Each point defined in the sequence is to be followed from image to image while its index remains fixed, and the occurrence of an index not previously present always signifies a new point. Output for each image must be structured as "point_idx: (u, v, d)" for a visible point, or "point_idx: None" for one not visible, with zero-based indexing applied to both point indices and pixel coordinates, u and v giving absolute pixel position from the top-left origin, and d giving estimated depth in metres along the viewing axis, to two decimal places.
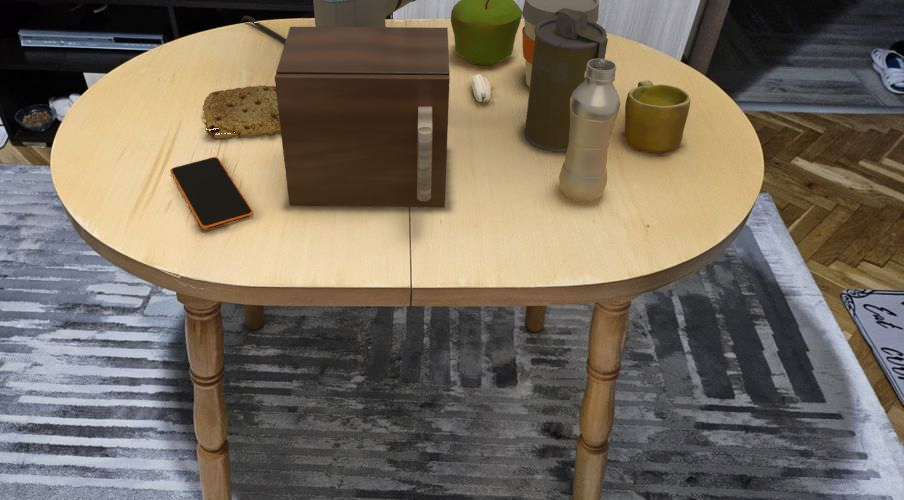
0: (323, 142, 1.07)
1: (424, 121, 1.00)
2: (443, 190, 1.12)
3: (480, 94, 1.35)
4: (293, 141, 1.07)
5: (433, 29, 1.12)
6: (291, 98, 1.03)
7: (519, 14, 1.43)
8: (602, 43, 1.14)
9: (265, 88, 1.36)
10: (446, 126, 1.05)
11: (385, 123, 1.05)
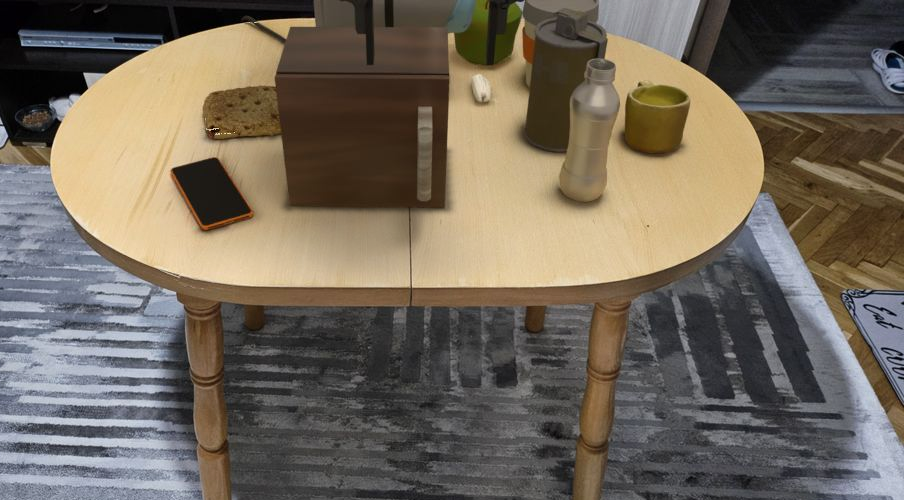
0: (323, 142, 1.07)
1: (424, 121, 1.00)
2: (443, 190, 1.12)
3: (480, 94, 1.35)
4: (293, 141, 1.07)
5: (433, 29, 1.12)
6: (291, 98, 1.03)
7: (519, 14, 1.43)
8: (602, 43, 1.14)
9: (265, 88, 1.36)
10: (446, 126, 1.05)
11: (385, 123, 1.05)
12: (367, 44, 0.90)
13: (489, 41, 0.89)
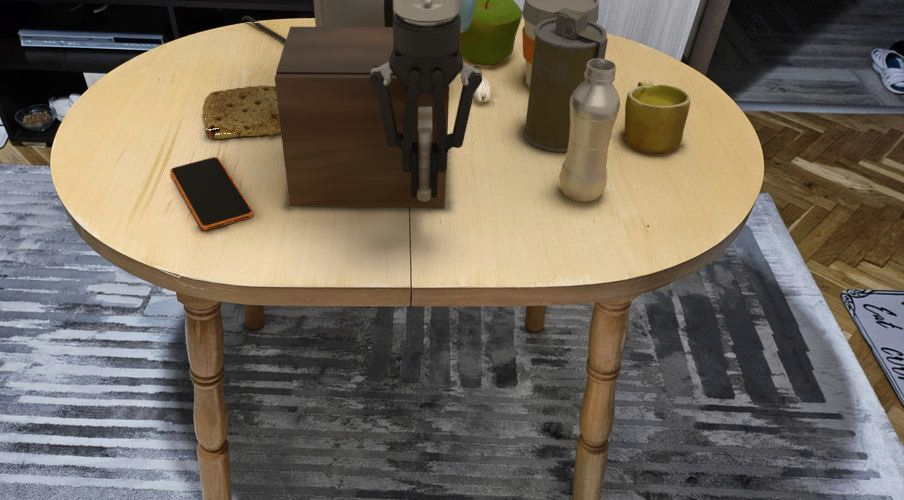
0: (323, 142, 1.07)
1: (424, 121, 1.00)
2: (443, 190, 1.12)
3: (480, 94, 1.35)
4: (293, 141, 1.07)
5: None
6: (291, 98, 1.03)
7: (519, 14, 1.43)
8: (602, 43, 1.14)
9: (265, 88, 1.36)
10: None
11: None
12: (412, 181, 1.01)
13: (432, 178, 1.01)
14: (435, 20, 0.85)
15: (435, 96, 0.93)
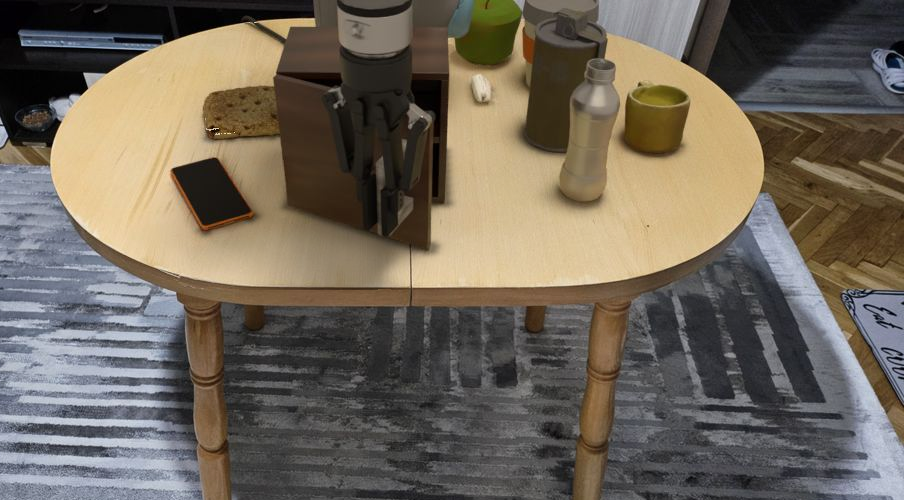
0: (315, 151, 1.05)
1: None
2: (425, 231, 1.05)
3: (480, 94, 1.35)
4: (290, 144, 1.07)
5: (433, 29, 1.12)
6: (287, 101, 1.02)
7: (519, 14, 1.43)
8: (602, 43, 1.14)
9: (265, 88, 1.36)
10: (427, 165, 0.98)
11: None
12: (363, 213, 0.96)
13: (382, 216, 0.95)
14: (364, 53, 0.79)
15: (378, 132, 0.87)
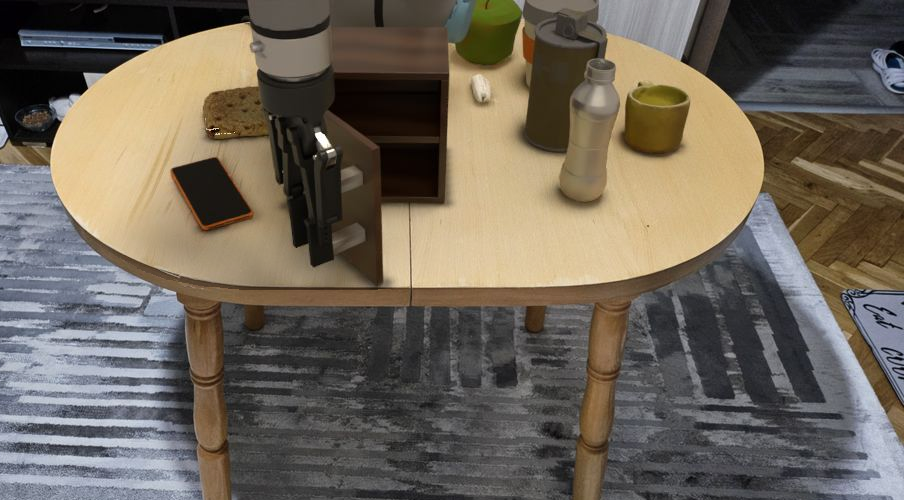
0: None
1: None
2: (375, 267, 0.99)
3: (480, 94, 1.35)
4: None
5: (433, 29, 1.12)
6: None
7: (519, 14, 1.43)
8: (602, 43, 1.14)
9: None
10: (373, 200, 0.93)
11: None
12: (291, 229, 0.94)
13: (309, 245, 0.91)
14: (265, 71, 0.76)
15: (294, 157, 0.83)
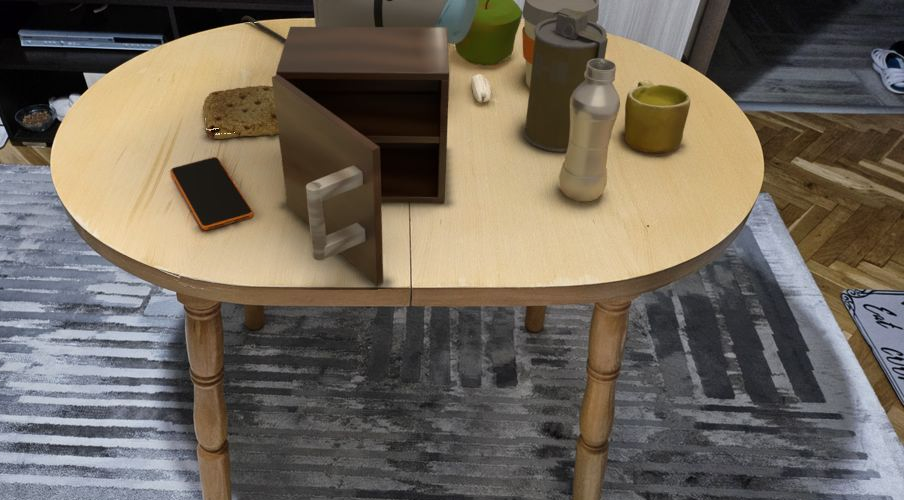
0: (301, 159, 1.04)
1: (329, 179, 0.91)
2: (375, 267, 0.99)
3: (480, 94, 1.35)
4: (285, 145, 1.06)
5: (433, 29, 1.12)
6: (281, 103, 1.02)
7: (519, 14, 1.43)
8: (602, 43, 1.14)
9: (265, 88, 1.36)
10: (373, 200, 0.93)
11: (335, 167, 0.97)
12: None
13: None
14: None
15: None
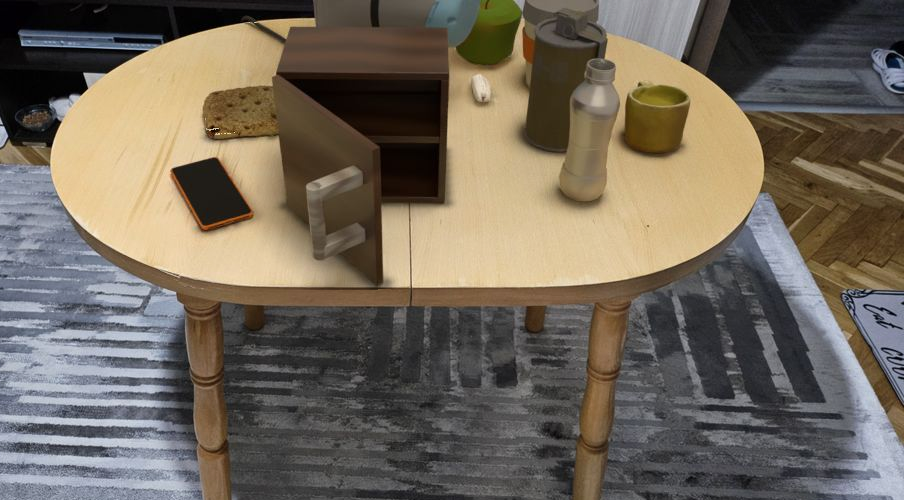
0: (301, 159, 1.04)
1: (329, 179, 0.91)
2: (375, 267, 0.99)
3: (480, 94, 1.35)
4: (285, 145, 1.06)
5: (433, 29, 1.12)
6: (281, 103, 1.02)
7: (519, 14, 1.43)
8: (602, 43, 1.14)
9: (265, 88, 1.36)
10: (373, 200, 0.93)
11: (335, 167, 0.97)
12: None
13: None
14: None
15: None
